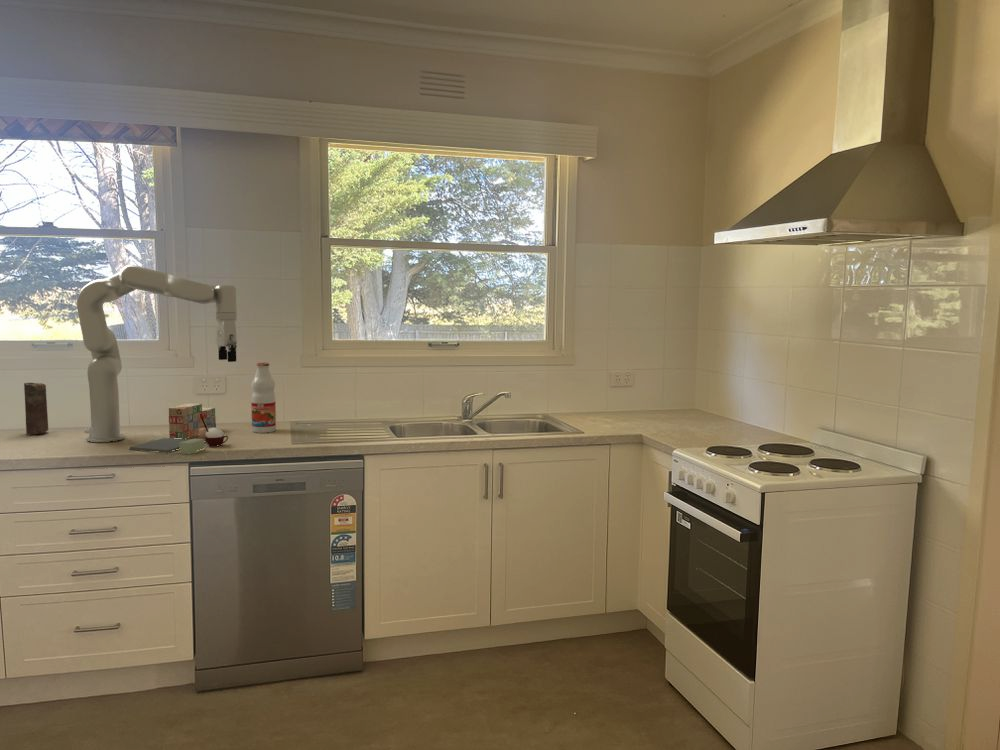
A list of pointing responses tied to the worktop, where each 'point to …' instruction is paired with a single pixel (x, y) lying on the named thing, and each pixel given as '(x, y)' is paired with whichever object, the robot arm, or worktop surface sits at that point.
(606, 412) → the worktop surface
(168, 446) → the mat
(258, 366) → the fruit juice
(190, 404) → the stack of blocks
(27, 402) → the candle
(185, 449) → the green brick
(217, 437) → the cocoa
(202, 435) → the terracotta cylinder
